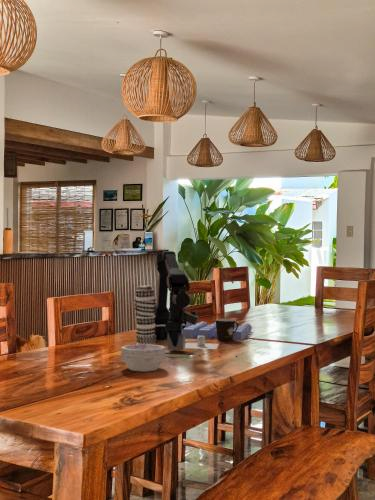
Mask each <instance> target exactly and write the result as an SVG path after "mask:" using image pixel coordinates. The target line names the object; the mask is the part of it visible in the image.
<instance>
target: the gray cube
mask: <svg viewBox="0 0 375 500" xmlns="http://www.w3.org/2000/svg"><path fill="white" fill-rule="evenodd" d="M185 344H186V338H185V334H182V333H179V336H178V341H177V346H176V347H174V346H173V343H172V341H171V338H170V336H169V335H168V340H167V350H171V351H172V350H173V351H174V350H176V351H184V350H185V349H186V348H185Z"/></svg>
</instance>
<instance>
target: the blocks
mask: <svg viewBox="0 0 375 500" xmlns="http://www.w3.org/2000/svg"><path fill="white" fill-rule="evenodd" d="M183 325H185V324H183ZM185 326H186V327H185V328H184V329H183V330H182V332H181V333H182V334H185V339H196V338H197V336H205V340H211V339H212V338H213V339H214V340H217V330H216V321H214V323H210V324H208V322H206V321H203V320H202V321H200V322H197V323H196V324H195V325H193V324H191V323H189V322H187V325H185ZM236 328H237V324H236V323H235V325H234V331H235V330H236ZM252 329H253V328H252V325H251V323H248V322H246V323H243V324H241V325H238V329H237V330H236V332H235V333H234V334H233V340H234V341H243V340H245V339H246V337H248V335H249V334H250V332H252ZM168 335H169V334H168ZM233 340H232V341H233Z"/></svg>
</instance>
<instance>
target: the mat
mask: <svg viewBox="0 0 375 500" xmlns="http://www.w3.org/2000/svg"><path fill="white" fill-rule="evenodd" d="M191 354H192V353H173V352H172V353H171V352H170V353H169V352H165V358H184V359H186V358H190V356H191Z"/></svg>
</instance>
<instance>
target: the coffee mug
mask: <svg viewBox="0 0 375 500" xmlns="http://www.w3.org/2000/svg"><path fill="white" fill-rule="evenodd" d="M215 322H216V330H217V339H216V340H217V341H220V342H232V341H233V334H234V333H235V332H236V330H237V329H238V327H239V323H238V322H237V321H236V319H234V318H233V319H231V318H216V319H215ZM235 324H236V325H237V328H236V330H235V331H234V325H235Z"/></svg>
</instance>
